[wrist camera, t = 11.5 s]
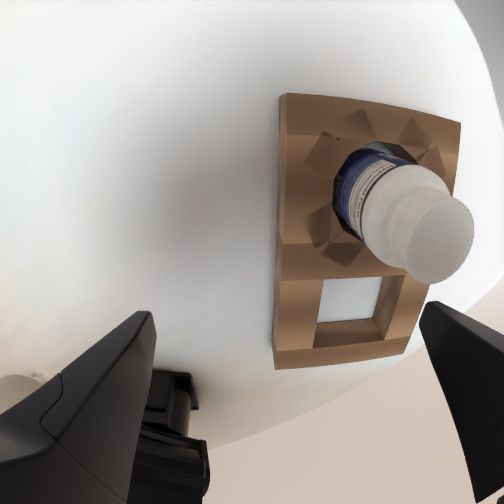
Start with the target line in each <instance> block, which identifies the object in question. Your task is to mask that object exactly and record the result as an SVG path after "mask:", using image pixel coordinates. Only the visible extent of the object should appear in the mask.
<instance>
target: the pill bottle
mask: <svg viewBox="0 0 504 504" xmlns="http://www.w3.org/2000/svg"><path fill="white" fill-rule="evenodd" d="M332 205H333V207H334V208H335V210H336V211H337V213H338V214H339V215H340V216H341V217H342V218H343V219H344V220H345V221H346V222H347V224H348V225H349V226H350V227H351V228H352V229H353V230H354V231H355V233H356V234H357V235H358V236H359V237H360V239H361V240H362V241H363V242H364V243H365V244H366V246H367V247H368V248H369V249H370V250H371V252H372V253H373V254H374V255H375V256H376V257H377V258H378V259H379V260H381V261H382V262H383V263H385V264H387V265H389V266H392V267H396V268H403V269H405V270H406V271H407V272H408V273H409V274H410V275H411V276H412V277H413V278H414V279H415V280H417V281H418V282H420V283H424V284H435V283H438V282H441V281H443V280H445V279H447V278H448V277H450V276H451V275H452V274H454V273H455V272H456V271H457V270H458V269H459V268H460V266H461V265H462V264H463V262H464V261H465V259H466V257H467V256H468V253H469V251H470V249H471V246H472V243H473V238H474V222H473V218H472V215H471V213H470V211H469V209H468V208H467V207H466V206H465V205H464V204H463V203H462V202H460V201H459V200H457V199H455V198H454V197H452V196H451V195H450V192H449V190H448V188H447V186H446V185H445V183H444V182H443V181H442V179H441V178H440V177H439V176H438V175H436V174H435V173H434V172H432V171H430V170H428V169H427V168H425V167H422V166H419V165H416V164H414V163H411V162H408V161H406V160H403V159H401V158H398V157H395V156H392V155H389V154H386V153H384V152H381V151H377V150H374V149H369V148H359V149H358V150H356V151H354V152H352V153H350V154H349V156H348V157H347V159H346V160H345V162H344V164H343V165H342V167H341V168H340V170H339V171H338V173H337V174H336V176H335V178H334V188H333V200H332Z"/></svg>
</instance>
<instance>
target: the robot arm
mask: <svg viewBox="0 0 504 504" xmlns="http://www.w3.org/2000/svg"><path fill="white" fill-rule="evenodd" d="M419 328H420V331H421V333H422V336H423V339H424V342H425V345H426V348H427V351H428V354H429V357H430V360H431V363H432V365H433V368H434V370H435V373H436V375H437V377H438V380H439V382H440V385H441V388H442V390H443V392H444V395H445V398H446V401H447V403H448V406H449V409H450V411H451V415H452V417H453V420H454V423H455V426H456V429H457V432H458V435H459V439H460V442H461V445H462V449H463V452H464V456H466V457H465V460H466V464H467V467H468V471H469V475H470V479H471V483H472V488H473V493H474V498H475V501H476V503H479V502H481V501H482V500H484V499H485V498H487V497H489V496H490V495H492V494H493V493H495V492H496V491H498V490H499V489H501V488H502V487H504V335H503V334H501V333H499V332H497V331H495V330H493V329H491V328H489V327H488V326H486V325H484V324H482V323H480V322H478V321H476V320H474V319H472V318H470V317H468V316H466V315H464V314H462V313H460V312H458V311H457V310H455V309H453V308H451V307H449V306H447V305H445V304H443V303H441V302H439V301H430V302H427V304H426V305H425V307H424V310H423V313H422V315H421V318H420V320H419ZM155 345H156V329H155V325H154V320H153V316H152V313H151V312H150V311H137V312H135V313H134V314H133V315H131V316H130V317H129V318H127V319H126V320H125V321H124V322H122V323H121V324H120V325H118V326H117V327H116V328H115V329H113V330H112V331H111V332H109V333H108V334H107V335H106V336H104V337H103V338H102V339H101V340H99V341H98V342H97V343H95V344H94V345H93V346H92V347H90V348H89V349H88V350H87V351H85V352H84V353H83V354H82V355H80V356H79V357H78V358H77V359H75V360H74V361H73V362H72V363H70V364H69V365H68V366H67V367H65V368H64V369H63V370H62V371H61V373H58V374H57V375H55V376H54V377H53V378H52V379H50V380H49V381H48V382H47V383H45V384H44V385H43V386H41V387H40V388H39V389H37V390H36V391H35V392H33V393H32V394H30V395H29V396H27V397H26V398H25V399H23V400H22V401H20V402H19V403H17V404H16V405H14V406H13V407H11V408H10V409H8V410H7V411H5V412H4V413H2V414H1V415H0V504H202V497H203V496H204V495H205V494H206V492H207V490H208V487H209V482H210V468H209V460H208V452H207V444H206V441H205V440H197V439H193V438H189V437H188V427H189V418H190V410H198V409H199V404H198V400H197V396H196V392H195V388H194V384H193V380H192V376H191V375H190V374H187V373H167V372H152V368H153V360H154V352H155ZM497 504H504V495H503V496H501V497H500V498H499V499H498V501H497Z"/></svg>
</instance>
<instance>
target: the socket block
mask: <svg viewBox="0 0 504 504" xmlns="http://www.w3.org/2000/svg"><path fill="white" fill-rule="evenodd" d="M460 131H461V123H459V122H456V121H453V120H449V119H446V118H442V117H439V116H435V115H431V114H427V113H423V112H419V111H415V110H411V109H406V108H401V107H397V106H392V105H386V104H381V103H375V102H369V101H363V100H356V99H349V98H341V97H332V96H322V95H310V94H296V93H286V94H284V95H282V96H279V167H278V209H277V240H276V267H275V290H274V311H273V330H272V351H273V358H274V366H275V370H280V369H294V368H306V367H317V366H326V365H335V364H343V363H351V362H358V361H365V360H371V359H377V358H383V357H389V356H394V355H400V354H403V353H404V351H405V349H406V346H407V344H408V342H409V339H410V337H411V335H412V332H413V330H414V327H415V325H416V322H417V320H418V317H419V314H420V312H421V309H422V306H423V304H424V301H425V298H426V295H427V292H428V289H429V286H430V284H424V283H420V282H418V281H417V280H415V279H414V278H413V277H412V276H411V275H410V274H409V273H408V272H407V271H406V270H405V269H403V268H396V267H392V266H389V265H387V264H385V263H383V262H382V261H381V260H379V259H378V258H377V257H376V256H375V255H374V254H373V253H372V252H371V250H370V249H369V248H368V247H367V246H366V244H365V243H364V242H363V241H362V240H361V239H360V237H359V236H358V235H357V234H356V233H355V231H354V230H353V229H352V228H351V227H350V226H349V225H347V224H345V223H343V222H342V221H340V220H339V219H338V218H337V216H336V214H335V212H334V210H333V208H332V200H333V188H334V178H335V176H336V174H337V173H338V171H339V170H340V168H341V167H342V165H343V164H344V162H345V160H346V159H347V157H348V156H349V154H350V153H352V152H354V151H356V150H358V149H359V148H361V147H363V146H365V145H367V144H369V143H371V142H373V141H378V142H382V143H383V144H385V145H386V146H387V147H388V148H389V149H391V150H392V151H393V152H394V153H395V155H396V157H398V158H401V159H403V160H406V161H408V162H411V163H414V164H416V165H419V166H422V167H425V168H427V169H428V170H430V171H432V172H434V173H435V174H436V175H438V176H439V177H440V178H441V179H442V181H443V182H444V183H445V185H446V186H447V188H448V190H449V192H450V195H451V196H452V195H453V189H454V183H455V177H456V170H457V162H458V153H459V143H460ZM377 276H384V277H383V281H382V285H381V289H380V293H379V297H378V300H377V304H376V308H375V311H374V314H373V318H369V319H359V320H349V321H338V322H326V323H317V318H318V312H319V306H320V299H321V293H322V286H323V279H341V278H360V277H377Z"/></svg>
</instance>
